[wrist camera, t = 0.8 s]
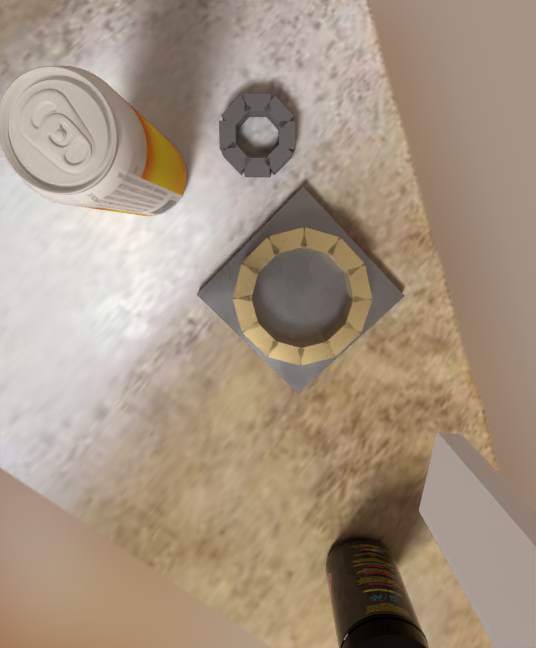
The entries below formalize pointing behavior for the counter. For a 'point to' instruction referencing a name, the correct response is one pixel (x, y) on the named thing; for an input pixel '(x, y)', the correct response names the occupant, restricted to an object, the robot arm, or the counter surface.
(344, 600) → the supplement container
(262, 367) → the counter surface
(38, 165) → the beer can
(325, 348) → the collar block
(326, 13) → the counter surface
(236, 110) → the ring
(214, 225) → the counter surface
